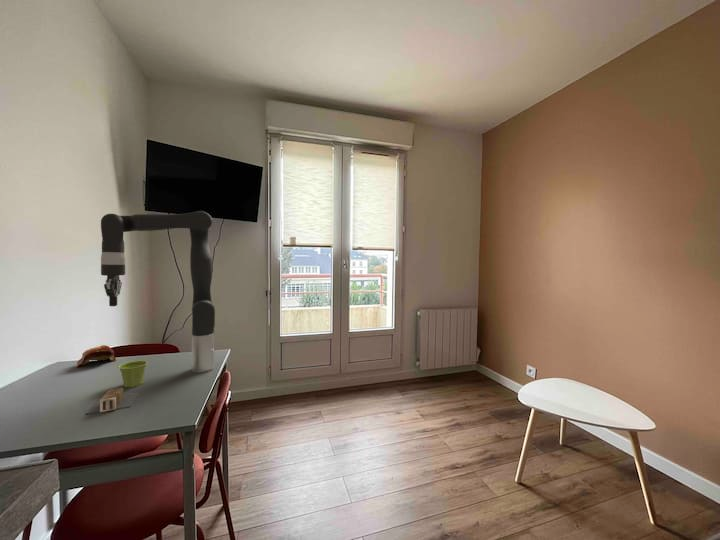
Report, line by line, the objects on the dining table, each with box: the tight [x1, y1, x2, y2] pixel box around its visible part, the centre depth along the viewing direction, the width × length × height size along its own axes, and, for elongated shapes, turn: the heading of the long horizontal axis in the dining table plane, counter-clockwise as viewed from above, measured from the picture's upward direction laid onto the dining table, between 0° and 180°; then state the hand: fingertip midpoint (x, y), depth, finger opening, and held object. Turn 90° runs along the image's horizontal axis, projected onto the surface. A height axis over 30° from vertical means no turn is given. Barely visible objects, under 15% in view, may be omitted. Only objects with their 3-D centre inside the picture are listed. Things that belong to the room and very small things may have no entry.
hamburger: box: [76, 344, 117, 368], centre depth 140 cm, size 16×13×10 cm
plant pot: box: [118, 360, 148, 388], centre depth 118 cm, size 9×9×9 cm
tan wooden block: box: [99, 387, 124, 413], centre depth 101 cm, size 4×4×9 cm
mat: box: [85, 391, 140, 415], centre depth 103 cm, size 12×12×1 cm
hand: (113, 305), depth 117 cm, fingers closed
